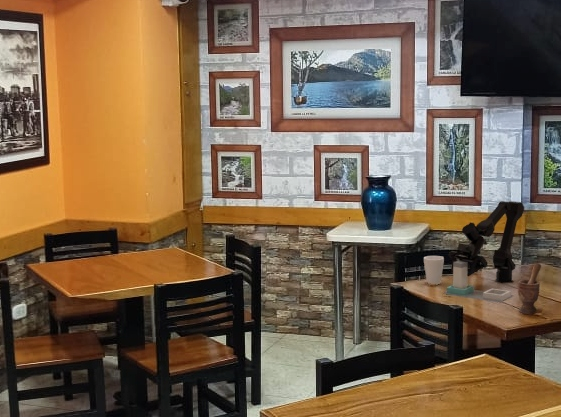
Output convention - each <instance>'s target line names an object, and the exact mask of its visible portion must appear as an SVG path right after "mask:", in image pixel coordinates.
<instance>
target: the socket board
mask: <svg viewBox="0 0 561 417" xmlns="http://www.w3.org/2000/svg"><path fill="white" fill-rule="evenodd" d="M443 294H446V295H451V296H455V297H462V298H469V299H475V300H481V301H487V302H495V303H501V304H502V303H503V302H505V301H507V300H509V299H511V298H512V297H515V295H512V291H511V290H506V289H497V288H490V289H487V290H486V291H485V290H479V289H475V286H474V285H469V284H467V288H466V289H458V288H453V284H452V285H451V284H450V286H447V287H446V291H445V292H444V293H443ZM443 294H442V295H443Z"/></svg>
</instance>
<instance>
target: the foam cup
mask: <svg viewBox="0 0 561 417" xmlns="http://www.w3.org/2000/svg"><path fill="white" fill-rule="evenodd" d="M444 261H445V258H444V256H440V255H427V256H424V257H423V263H424V264H423V265H424V271H425V277H426V278H425V279H426V283H427V282H428V283H431V284H439V283H442V277H443V276H442V275H443V269H444V263H445V262H444Z"/></svg>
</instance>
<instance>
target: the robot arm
mask: <svg viewBox="0 0 561 417" xmlns="http://www.w3.org/2000/svg"><path fill="white" fill-rule="evenodd" d="M524 211H525V205H524V204H523V202H520V201H503V200H502V201H499V202H498V204H497V206H496V207H495V208H494V210H493V211H492V212H491V213H490V214H489V215H488V216H487V218H486V219H483V220H481V221H480V222H478V223H477V224H475V223H474V222H469V223H468V224H466V225H464V226H463V228H462V229H461V232H462V233H463V235H464V236H465V238H466V239H467V240H468V241H469V243H468V244H467V243H466V244H465V243H460V242H458V245H457V249H456V250H457V251H453V250H451V251H449V253H448V257H449V258H450V260H451V267H450V268H451V269H450V273H451V274H453V262H456V261H464V262H471V263H472V264H471V266H470V268H469V270H467V277H470V276H471V275H473V274H475V273H476V272H478V271H480V270H483V269H486V268H487V266H488V261H487V260H486V258H485V257H484V256H482V255H481V250H482V248H483V246H486V245H487V244H488V243H487V239H486V237H487V238H490V237H491V236H492V235H493V233H494V232H495V229H496V228H495V227H496V225H497V224H498V223H499V222H500V220H501V219H502V217H503V216H504V215H505V217H506V221H505V226H504V229H503V233H502V237H501V243H500V246H499V248H497V249H495V250H494V251H493V256H492V262H493V267H494V269H497V270H496V274H495V276H496V278H495V281H497V282H499V283H501V284H504V283H506V284H507V283H514V280H513V271H515V269H516V264H515V262H514V261H513V260H512V259H513V254H512V251H511V250H512V249H511V248H512V245H513V241H514V235H515V232H516V227H517V223H518V221H519V220H520V218H522V217H523V214H524ZM484 237H485V238H484ZM458 251H459V252H460V253H461V254H460V253H459V252H458Z"/></svg>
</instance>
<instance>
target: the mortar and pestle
mask: <svg viewBox="0 0 561 417" xmlns="http://www.w3.org/2000/svg"><path fill="white" fill-rule="evenodd" d="M541 268H542V265H541V264H540V263H537V262H536V263H535V264H534V265H533V268H532V271H531V275H530V278H529V279H520V280H518V282H517V295H518V297H519V300H520V301H521V303H522V305H521V306H520V307H519V308H518V312H519V313H520V314H521V313H522V314H523V315H534V314H536V313H537V310H538V309H537V307H535V303H536V302H537V301H538V299H539V296H540V289H541V288H540V285H541V284H540V281H538V280H536V279H537V277H538V274H539V273H540V271H541Z"/></svg>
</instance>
